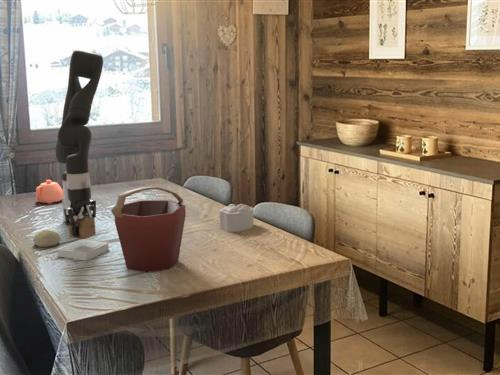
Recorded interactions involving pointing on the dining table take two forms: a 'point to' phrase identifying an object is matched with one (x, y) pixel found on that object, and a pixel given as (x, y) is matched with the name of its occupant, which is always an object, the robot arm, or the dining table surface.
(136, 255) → the bucket
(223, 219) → the lumpy-topped squat cylinder
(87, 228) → the walnut cube
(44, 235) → the sea urchin shell
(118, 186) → the dining table surface
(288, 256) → the dining table surface
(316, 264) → the dining table surface
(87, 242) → the tray
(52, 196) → the sugar bowl
